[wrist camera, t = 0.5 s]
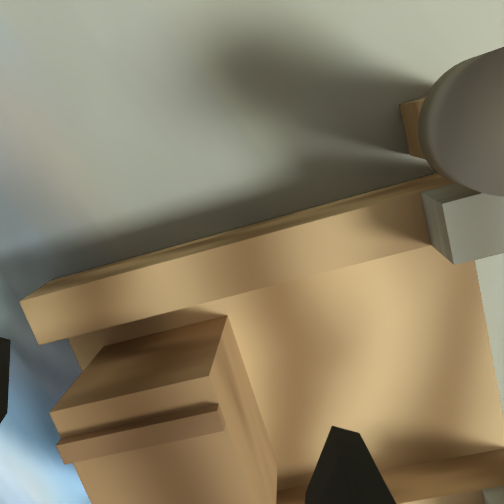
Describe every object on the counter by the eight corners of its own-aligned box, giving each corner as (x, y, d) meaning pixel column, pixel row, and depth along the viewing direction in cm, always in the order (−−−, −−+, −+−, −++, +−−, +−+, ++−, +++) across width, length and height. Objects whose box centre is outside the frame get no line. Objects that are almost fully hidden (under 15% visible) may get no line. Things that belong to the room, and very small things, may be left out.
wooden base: (160, 535, 25) (112, 690, 18) (17, 200, 20) (-119, 240, 13) (537, 468, 22) (649, 623, 15) (469, 60, 17) (586, 21, 10)
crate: (161, 486, 23) (125, 592, 18) (103, 346, 21) (43, 419, 16) (277, 463, 22) (274, 569, 17) (227, 315, 20) (206, 382, 15)
